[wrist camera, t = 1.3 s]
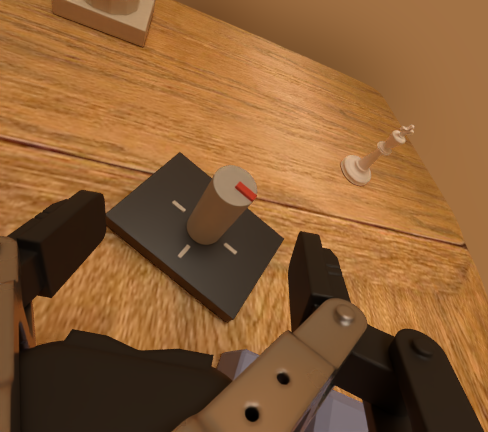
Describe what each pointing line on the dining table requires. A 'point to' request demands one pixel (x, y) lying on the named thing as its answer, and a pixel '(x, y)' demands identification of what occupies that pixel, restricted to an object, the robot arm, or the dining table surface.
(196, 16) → the dining table surface
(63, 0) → the box
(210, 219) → the knob
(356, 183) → the chess piece
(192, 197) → the panel
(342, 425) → the blocks
